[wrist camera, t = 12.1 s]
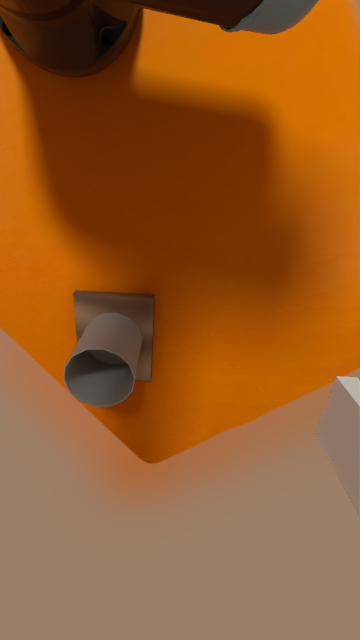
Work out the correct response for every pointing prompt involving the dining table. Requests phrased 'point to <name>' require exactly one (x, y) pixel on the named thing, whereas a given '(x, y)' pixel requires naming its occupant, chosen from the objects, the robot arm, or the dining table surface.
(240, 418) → the dining table surface
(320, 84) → the dining table surface
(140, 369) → the walnut board
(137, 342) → the cup
